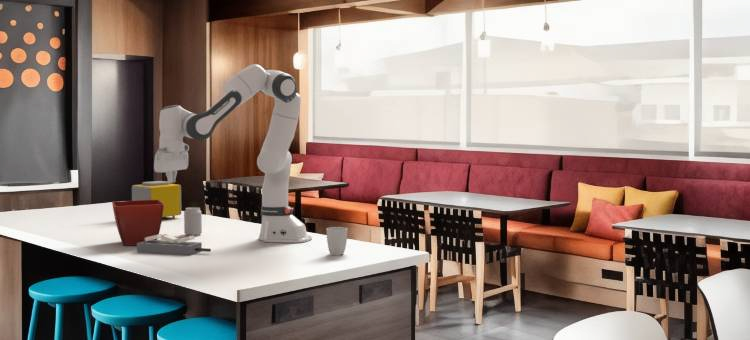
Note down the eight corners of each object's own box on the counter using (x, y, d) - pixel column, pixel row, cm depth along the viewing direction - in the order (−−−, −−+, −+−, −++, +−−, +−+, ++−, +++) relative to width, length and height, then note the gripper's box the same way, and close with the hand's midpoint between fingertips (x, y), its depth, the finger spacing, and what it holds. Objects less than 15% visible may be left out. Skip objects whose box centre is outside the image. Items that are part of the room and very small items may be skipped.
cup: (336, 251, 334) (336, 226, 333) (351, 254, 329) (351, 228, 328) (322, 254, 328) (321, 228, 327) (337, 256, 322) (337, 230, 322)
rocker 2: (177, 241, 333) (177, 238, 333) (172, 243, 330) (173, 239, 330) (164, 237, 335) (165, 233, 335) (160, 238, 332) (161, 235, 332)
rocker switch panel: (215, 252, 332) (215, 242, 332) (204, 256, 324) (204, 246, 323) (149, 248, 340) (149, 239, 340) (137, 252, 332) (136, 242, 332)
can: (197, 236, 371) (197, 209, 370) (181, 236, 373) (181, 208, 372) (204, 234, 378) (204, 207, 378) (188, 233, 380) (188, 206, 379)
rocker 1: (161, 237, 335) (161, 233, 335) (157, 238, 332) (156, 234, 332) (149, 240, 337) (148, 236, 337) (145, 241, 334) (144, 237, 334)
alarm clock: (163, 215, 440) (163, 179, 439) (182, 218, 430) (182, 181, 429) (130, 219, 426) (129, 182, 424) (149, 222, 415) (148, 184, 414)
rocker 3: (194, 238, 331) (193, 235, 331) (190, 240, 328) (189, 236, 328) (181, 242, 333) (180, 238, 333) (177, 243, 330) (176, 239, 330)
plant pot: (112, 240, 359) (111, 200, 358) (159, 238, 366) (158, 199, 365) (116, 248, 342) (115, 206, 340) (165, 245, 348) (164, 204, 347)
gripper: (164, 148, 322) (164, 185, 323) (191, 146, 341) (191, 180, 342) (149, 148, 323) (150, 184, 324) (177, 145, 343) (177, 180, 344)
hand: (171, 182), depth 333 cm, fingers closed
